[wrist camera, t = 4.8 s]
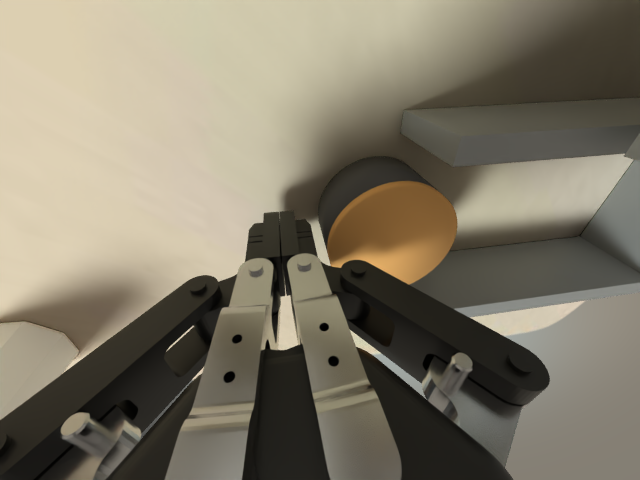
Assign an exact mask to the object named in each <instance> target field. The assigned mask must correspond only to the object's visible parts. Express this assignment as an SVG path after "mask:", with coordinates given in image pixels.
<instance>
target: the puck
mask: <svg viewBox="0 0 640 480" xmlns="http://www.w3.org/2000/svg"><path fill="white" fill-rule="evenodd" d="M318 218H319V223H320V227H321V231H322V234H323V238H324V242H325V245H326V249H327V253H328V257H329V260H330V264H331V266H332V267H339V268H341V267H342V265H343V264H344V263H346V262H348V261H350V260H363V261H366V262H368V263H370V264H372V265H374V266H375V267H377V268H379V269H381V270H383V271H385V272H386V273H388V274H390V275H392V276H394V277H396V278H397V279H399V280H401V281H403V282H405V283H407V284H408V285H409V284H411V283H414V282H415V281H417V280H419V279H421V278H422V277H424V276H425V275H427V274H428V273H429V272H431V271H432V270H433V269H434V268H435V267H436V266H437V265H439V263H440V262H441V261H442V260H443V259H444V258H445V256H446V255H447V253H448V252H449V250H450V248H451V247H452V244H453V242H454V240H455V236H456V232H457V217H456V213H455V210H454V208H453V206H452V204H451V203H450V201H449V200H448V199H447V198H446V197H445V196H443V195H442V194H441V193H440V192H439V191H437V190H436V189H435V188H434V187H433V186H432V185H430V184H429V183H428V182H427V181H426V180H425V179H423V178H422V177H421V176H420V175H419V174H418V173H416V172H415V171H414V170H413V169H412V168H411V167H409V166H408V165H407V164H405V163H404V162H402V161H400V160H397V159H394V158H390V157H370V158H366V159H362V160H359V161H357V162H354V163H352V164H350V165H349V166H347V167H345V168H344V169H342V170H341V171H340V172H339V173H338V174H336V175H335V176H334V177H333V179H332V180H331V181H330V182H329V183H328V185H327V186H326V188H325V190H324V192H323V194H322V196H321V199H320V202H319V207H318Z"/></svg>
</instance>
